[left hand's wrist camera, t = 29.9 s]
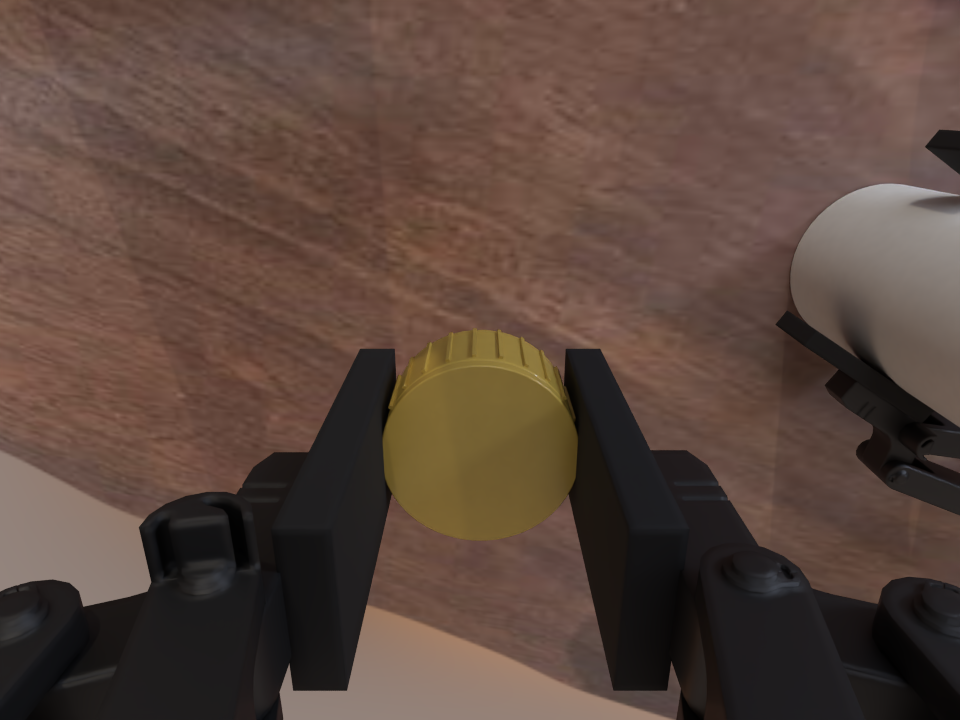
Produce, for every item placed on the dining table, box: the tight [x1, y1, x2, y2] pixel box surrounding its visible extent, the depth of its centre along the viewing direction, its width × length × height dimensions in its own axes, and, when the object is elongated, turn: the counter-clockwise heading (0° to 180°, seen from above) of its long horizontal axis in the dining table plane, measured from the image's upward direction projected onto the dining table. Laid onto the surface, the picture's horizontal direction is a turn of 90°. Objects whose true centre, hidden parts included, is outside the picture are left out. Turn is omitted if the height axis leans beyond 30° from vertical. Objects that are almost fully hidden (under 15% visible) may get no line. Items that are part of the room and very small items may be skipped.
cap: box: [382, 328, 578, 541], centre depth 14 cm, size 4×4×2 cm
